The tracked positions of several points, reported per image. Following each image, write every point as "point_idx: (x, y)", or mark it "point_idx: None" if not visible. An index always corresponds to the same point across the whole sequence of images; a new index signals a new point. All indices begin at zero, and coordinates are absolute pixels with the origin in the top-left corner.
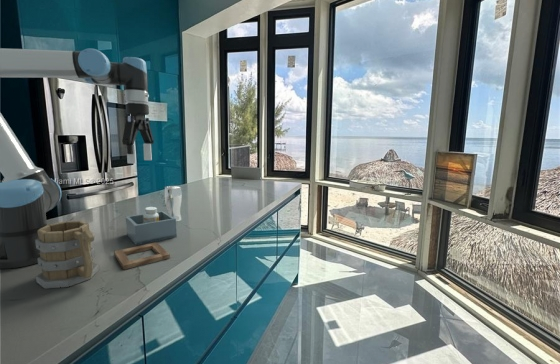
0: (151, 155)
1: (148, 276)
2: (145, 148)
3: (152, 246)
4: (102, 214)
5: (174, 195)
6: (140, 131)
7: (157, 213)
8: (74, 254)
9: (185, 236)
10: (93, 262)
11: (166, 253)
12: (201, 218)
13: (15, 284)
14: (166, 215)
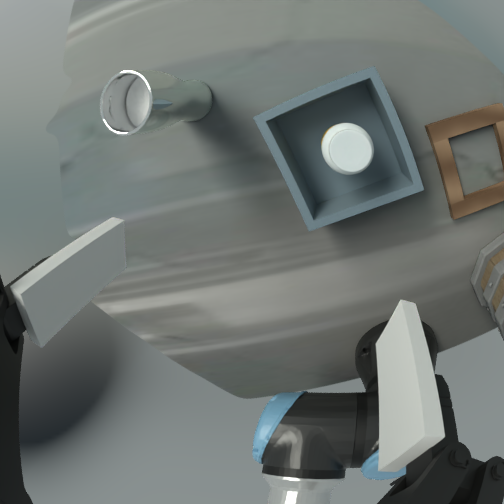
0: (89, 232)
1: None
2: (65, 307)
3: (452, 136)
4: (138, 293)
5: (169, 88)
6: (18, 475)
7: (343, 127)
8: None
9: (366, 51)
10: (498, 246)
11: (496, 109)
12: (186, 25)
13: (488, 324)
14: (314, 99)
